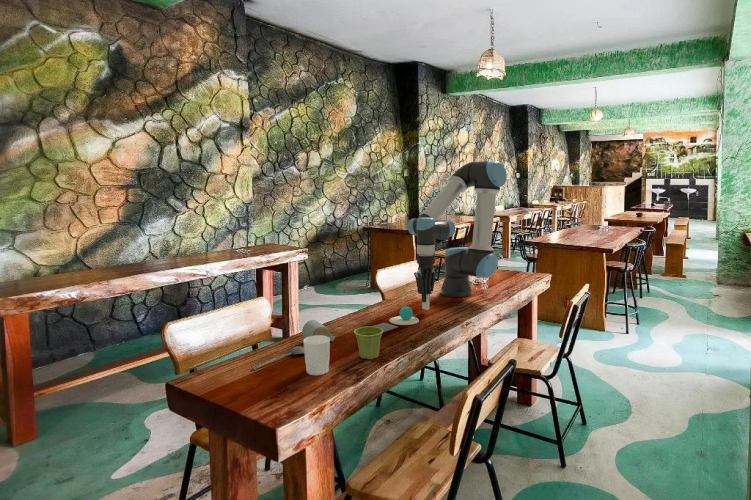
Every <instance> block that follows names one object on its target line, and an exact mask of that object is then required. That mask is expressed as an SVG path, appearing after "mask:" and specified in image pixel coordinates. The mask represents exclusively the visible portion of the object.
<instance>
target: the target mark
mask: <svg viewBox="0 0 751 500" xmlns="http://www.w3.org/2000/svg"><path fill="white" fill-rule="evenodd" d="M388 321H389V322H390V324H392V325H396V326H397V325H398V326H410V325H415V324H417V323H419V322H420V320H419V318H418V317H416V316H412V318H411V319H409V320H404V319H402V318H401V317H400V315H398V316H394V317H391V318H389V319H388Z"/></svg>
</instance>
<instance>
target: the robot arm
mask: <svg viewBox="0 0 751 500" xmlns="http://www.w3.org/2000/svg"><path fill="white" fill-rule="evenodd" d="M507 178H508V177H507V171H506V168H505V166H504V164H503V163H502V162H500V161H498V160H485V161H484V160H483V161H482V160H481V161H470V162H468V163H466V164H463V165H462V166H460V168H458V169H457V170H456V171H454V173H453V174H452V175H451V176H450V177H449V178H448V183H447V184H446V185H445V186H444V187H443V188H442V189H441V190H440V192H439V193H438V194H437V195H436V196H435V198H434V199H433V200H432V201H431V202H430V203H429V204H428V206H427V207H426V208H425V209H424V210H423V211H422V213H421V214H420V215H419V216H418V218H416V217H415V218H411V219H410V220H409V221H408V223H407V231H408V233H409V234H411V235H413V236H416V254H417V255H416V264H418V265H417V266H418V268H417V271H416V272H413V276H414V278H415V282H416V283H415V284H416V288H417V293H418V294H420V295H421V309H423V310H426V311H429V310H430V302H431V301H430V298H431V297H430V296H431V295H432V294H433V292H434V288H435V282H436V274H437V271H438V269H437V268H434V264H435V263H436V262H435V261H436V259H435V258H436V255H435V254H436V253H435V252H436V240H439V239H448V238H450V237H453V236H454V235H455V233H456V226H455V225H456V224H455V222H453V221H452V220H449V219H447V220H446V219H444V220H439V219H441V217H442V216H443V215H444V213H445V212H446V211H447V210H448V208H449V207H451V205H452V204H453V202H454V201H456V199H457V198H458V197H459V196H460V194H461V193H465V191H467V189H469V188H471V187H473V190H474V191H475V192H476V202H475V203H476V204H475V211H474V212H475V213H474V222H473V233H472V242H471V245H470V246H459V247H458V246H457V247H450V248H449V247H448V248H446V249H445V251H444V280H443V283H442V285H441V289H440V291H441V292H440V293H441V295H443V296H444V297H445V296H446V297H452V298H453V297H454V298H465V297H470V296H472V295H473V288H472V285H471V282H470V279H469V276H471V277H477V278H482V279H488V278H491V277H492V276H493V275H494V274H495V273H496V271H497V269H498V265H499V259H498V257H497V255H496V254H495V252H494V251H495V250H494V248H493V247H492V239H493V238H492V237H493V228H494V227H493V226H494V219H495V208H496V199H497V198H496V197H497V194H498V193H499V192H501V191H500V190H501V187H503V186H504V185H505V184H506V182H507Z"/></svg>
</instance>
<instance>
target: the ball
mask: <svg viewBox="0 0 751 500" xmlns="http://www.w3.org/2000/svg"><path fill="white" fill-rule="evenodd" d="M399 316H400V317H401V318H402V319H404V320H409V319H411V318H412V317H414V310H413V309H412V308H411V307H409V306H403V307H401V309H400V310H399Z"/></svg>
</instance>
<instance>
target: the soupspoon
mask: <svg viewBox="0 0 751 500" xmlns="http://www.w3.org/2000/svg"><path fill="white" fill-rule="evenodd" d="M299 354H304V346H293V347H291V348H290V349H289V351H288V353H284V354H282V355H279V356H276V357H274V358H271V359H270V360H268V361H266V362H263V363H262V362H261V363H260V364H258V365H255V366H254V365H253V366H252V369H253V370H255V371H257V370H258V369H260V368H261V367H263V366H264V365H267V364H269V363H272V362H274V361H277V360H279V359H281V358H285V357H288V356H291V355H299Z"/></svg>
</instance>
